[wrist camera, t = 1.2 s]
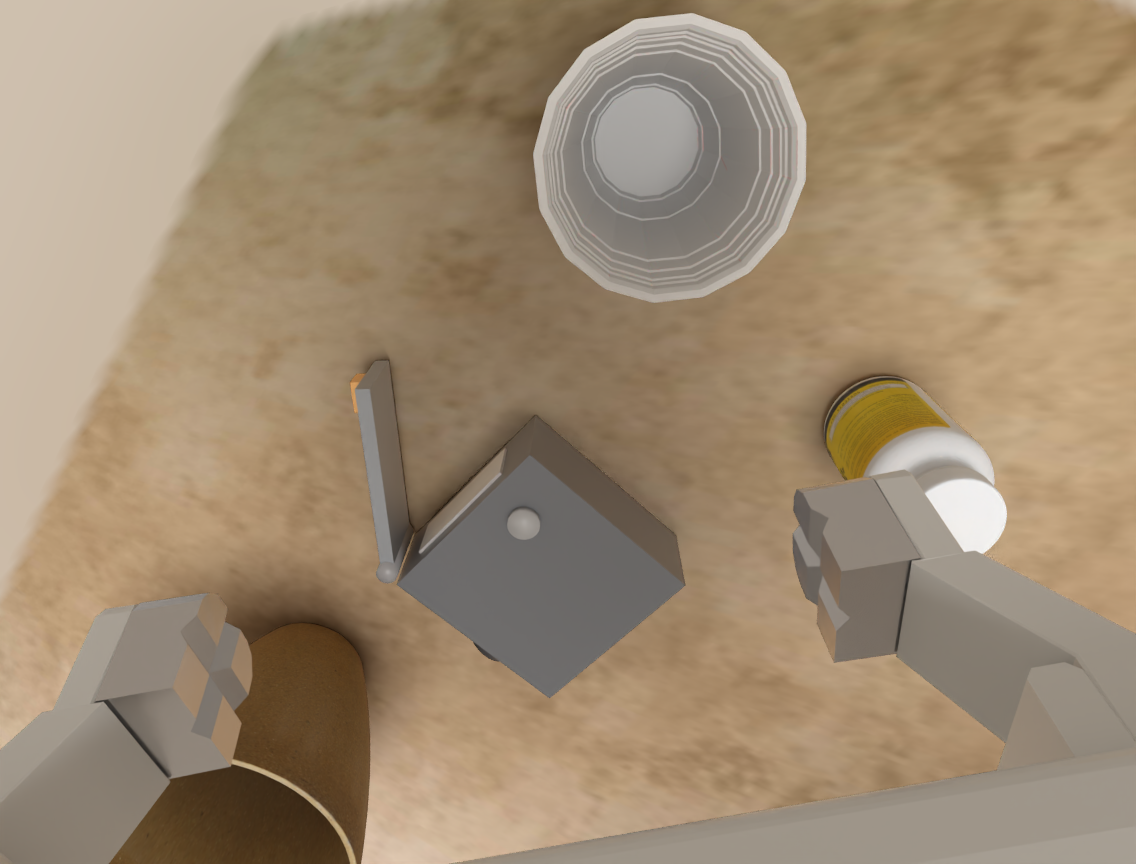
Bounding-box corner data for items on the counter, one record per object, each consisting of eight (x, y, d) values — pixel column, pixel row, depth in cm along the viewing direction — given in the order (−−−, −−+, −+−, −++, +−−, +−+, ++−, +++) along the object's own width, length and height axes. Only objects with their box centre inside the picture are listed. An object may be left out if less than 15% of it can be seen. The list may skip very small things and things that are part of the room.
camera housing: (676, 535, 53) (686, 590, 47) (542, 650, 57) (538, 713, 51) (533, 413, 49) (527, 456, 44) (403, 543, 53) (381, 598, 48)
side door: (392, 360, 48) (371, 391, 43) (414, 538, 53) (397, 583, 48) (362, 360, 48) (339, 392, 43) (387, 538, 53) (369, 583, 48)
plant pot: (456, 644, 56) (411, 847, 42) (349, 775, 62) (274, 996, 47) (261, 532, 53) (137, 709, 39) (164, 680, 58) (22, 886, 44)
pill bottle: (798, 422, 49) (856, 521, 39) (888, 349, 47) (975, 432, 37) (864, 492, 51) (937, 604, 41) (954, 424, 49) (1054, 524, 39)
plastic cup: (774, 212, 44) (836, 262, 33) (580, 270, 46) (578, 336, 35) (730, -6, 40) (784, -32, 29) (519, 65, 42) (494, 66, 31)
